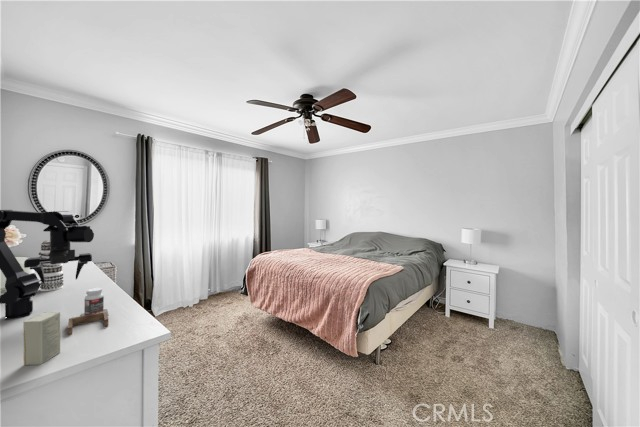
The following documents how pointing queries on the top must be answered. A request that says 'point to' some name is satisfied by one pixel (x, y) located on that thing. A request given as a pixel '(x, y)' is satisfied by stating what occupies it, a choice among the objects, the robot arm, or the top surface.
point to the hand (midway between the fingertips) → (60, 281)
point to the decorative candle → (50, 270)
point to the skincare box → (41, 338)
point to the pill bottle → (94, 301)
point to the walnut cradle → (87, 320)
